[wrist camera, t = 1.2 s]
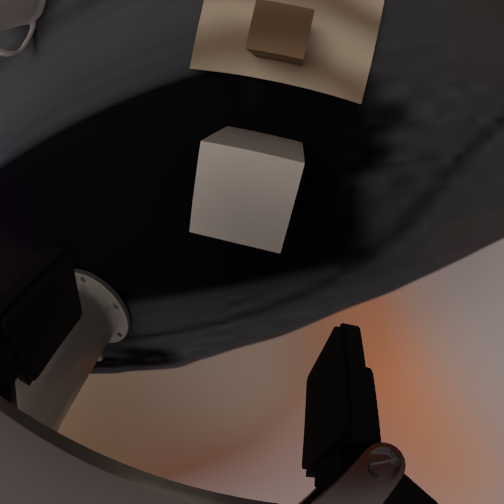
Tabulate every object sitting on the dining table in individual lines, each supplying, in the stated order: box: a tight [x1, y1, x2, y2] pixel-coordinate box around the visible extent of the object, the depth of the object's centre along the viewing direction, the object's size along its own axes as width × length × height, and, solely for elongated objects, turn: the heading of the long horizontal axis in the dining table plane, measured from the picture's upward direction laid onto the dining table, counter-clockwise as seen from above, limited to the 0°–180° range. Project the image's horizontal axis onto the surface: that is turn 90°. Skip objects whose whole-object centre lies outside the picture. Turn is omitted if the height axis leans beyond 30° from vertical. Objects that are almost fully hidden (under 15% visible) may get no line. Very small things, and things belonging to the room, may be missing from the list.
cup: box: [0, 0, 46, 56], centre depth 16 cm, size 7×10×8 cm
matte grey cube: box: [189, 126, 305, 253], centre depth 23 cm, size 7×7×8 cm
